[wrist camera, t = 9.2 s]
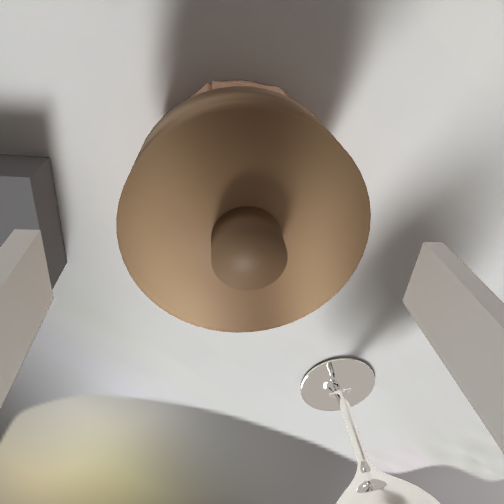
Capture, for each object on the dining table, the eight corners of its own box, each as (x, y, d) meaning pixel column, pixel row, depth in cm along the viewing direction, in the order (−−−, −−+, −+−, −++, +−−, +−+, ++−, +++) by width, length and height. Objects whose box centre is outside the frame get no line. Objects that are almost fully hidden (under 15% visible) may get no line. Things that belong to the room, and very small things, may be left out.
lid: (138, 278, 22) (118, 357, 17) (126, 75, 17) (92, 107, 12) (322, 283, 23) (351, 358, 18) (364, 96, 18) (420, 132, 13)
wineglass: (313, 340, 32) (406, 650, 17) (402, 359, 34) (557, 652, 19) (275, 407, 36) (323, 709, 21) (357, 420, 38) (456, 705, 23)
